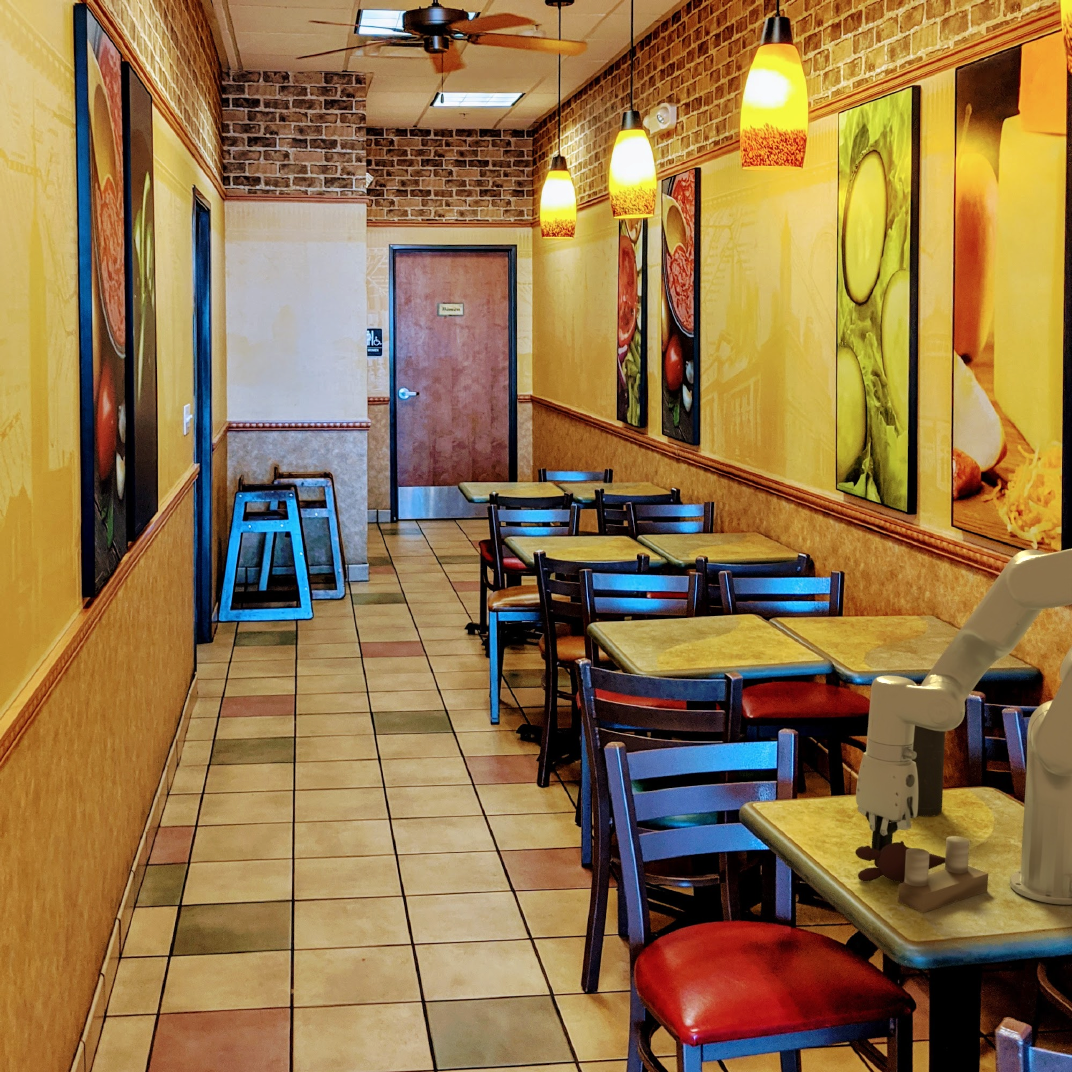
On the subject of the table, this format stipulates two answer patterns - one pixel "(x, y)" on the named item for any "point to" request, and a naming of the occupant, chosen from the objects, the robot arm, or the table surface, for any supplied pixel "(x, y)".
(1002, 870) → the table surface
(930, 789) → the container
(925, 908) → the rail
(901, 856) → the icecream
